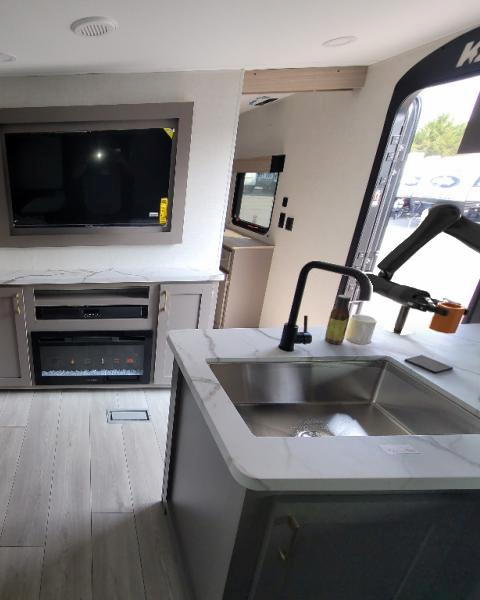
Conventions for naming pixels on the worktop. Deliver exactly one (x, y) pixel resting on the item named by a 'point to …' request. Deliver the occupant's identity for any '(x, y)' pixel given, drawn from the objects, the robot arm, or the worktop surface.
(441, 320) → the orange spice jar
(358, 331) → the mug
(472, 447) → the worktop surface
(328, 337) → the sauce bottle
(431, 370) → the mat
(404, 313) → the stand
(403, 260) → the robot arm
